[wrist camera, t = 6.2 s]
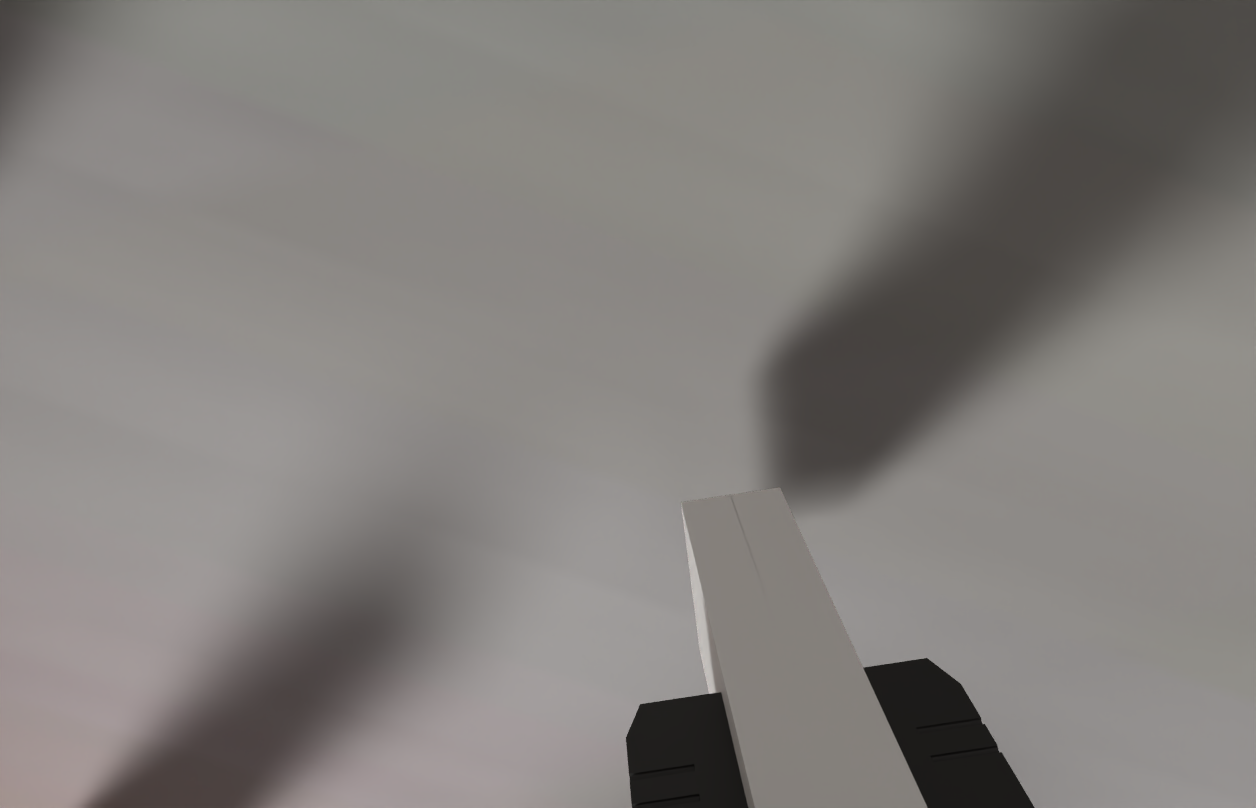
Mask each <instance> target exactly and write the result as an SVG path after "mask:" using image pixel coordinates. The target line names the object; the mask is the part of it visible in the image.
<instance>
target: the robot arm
mask: <svg viewBox="0 0 1256 808" xmlns="http://www.w3.org/2000/svg"><path fill="white" fill-rule="evenodd" d="M681 507H682V514H683V522H684V530H685V538H686V546H687V554H688V562H689V570H690V577H691V585H692V593H693V601H694V609H695V617H696V625H697V633H698V640H699V648H700V653H701V658H702V663H703V667H704V672H705V676H706V681H707V686H708V690H709V694H705V695H699V696H692V697H685V698H679V699H672V700H666V701H659V702H652V703H646V704H640V706H639V709H638V711H637V713H636V716H635V718H634V720H633V723H632V725H631V727H630V730H629V732H628V734H627V737H626V743H627V755H628V766H629V776H630V789H631V801H632V808H1034V806H1033V804H1032V803H1031V801H1030V799H1029V798H1028V796H1027V794H1026V793H1025V791H1024V789H1023V788H1022V786H1021V784H1020V782H1019V781H1018V779H1017V777H1016V776H1015V774H1014V772H1013V771H1012V769H1011V767H1010V766H1009V764H1008V762H1007V761H1006V759H1005V757H1004V756H1003V754H1002V753H999V751H998V747H997V744H996V742H995V741H994V739H993V737H992V736H991V734H990V732H989V730H988V729H987V727H986V725H985V724H982V722H981V717H980V715H979V714H978V712H977V710H976V709H975V707H974V705H973V704H972V702H971V700H970V699H969V697H968V695H967V694H966V692H965V690H964V689H963V687H962V685H961V684H960V683H959V682H957V681H956V680H955V679H954V678H952V677H951V676H950V675H948V674H947V673H946V672H944V671H943V670H942V669H940V668H939V667H938V666H937V665H935V664H934V663H933V662H931V661H930V660H929V659H927V658H924V659H918V660H911V661H905V662H898V663H892V664H885V665H878V666H872V667H865V668H863V667H862V664H861V662H860V660H859V658H858V656H857V654H856V651H855V649H854V647H853V645H852V643H851V641H850V638H849V636H848V634H847V632H846V630H845V627H844V625H843V623H842V621H841V619H840V617H839V614H838V612H837V610H836V608H835V606H834V604H833V601H832V599H831V597H830V595H829V593H828V591H827V588H826V586H825V584H824V582H823V580H822V578H821V575H820V573H819V571H818V569H817V567H816V565H815V562H814V560H813V558H812V556H811V554H810V552H809V549H808V547H807V545H806V543H805V541H804V539H803V536H802V534H801V532H800V530H799V528H798V525H797V523H796V521H795V519H794V517H793V515H792V512H791V510H790V508H789V506H788V504H787V502H786V499H785V497H784V495H783V493H782V491H781V489H780V487H779V488H772V489H765V490H759V491H752V492H745V493H739V494H732V495H725V496H719V497H712V498H705V499H699V500H692V501H685V502H681Z"/></svg>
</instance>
